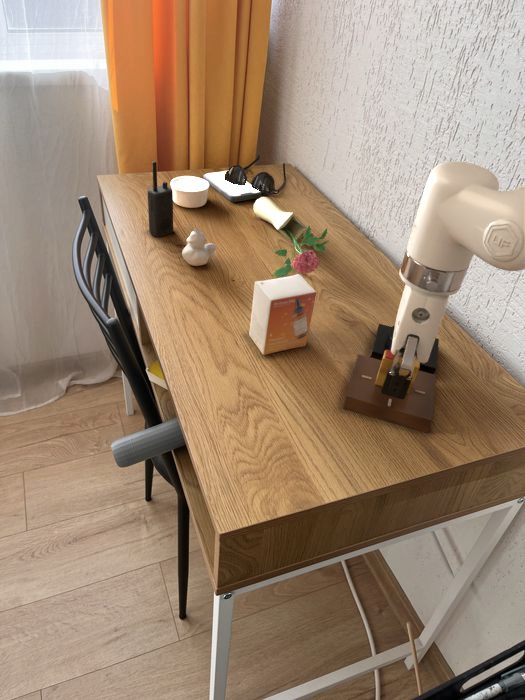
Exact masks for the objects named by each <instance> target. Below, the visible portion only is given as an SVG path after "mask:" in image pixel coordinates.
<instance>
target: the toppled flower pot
mask: <svg viewBox="0 0 525 700" xmlns="http://www.w3.org/2000/svg"><path fill="white" fill-rule="evenodd" d="M252 210H253V212H254V215H255V216H256V217H258V219H260V220H263V221H265V222H267V223H269V224H271V225H273V227H274V228H275V229H276V230H277V231H278V232H279V233H280V234H281V235H282V236H283V237H284V238H285V239H286V240H287V241H288V242H289V243H290V244H291V245H292V248H294V249H292V250H291V251H288V250H287V248H281V249H278V250H275V251H274V254H275V255H277V256H279V257H287V254H288V253H289V252H291V256H290V257H288V258H286V259H285V261H284V264H285V266H282V267H280V268H278V269H276V270H275V272H273V274H272V276H273V277H286V276H287V275H289V274H290V272H291V271H292V270H293V269H294V270H296V273H298V274H302V275H303V274H305V275H306V274H310V273H312V272H314V271H315V270H317V268H318V266H319V264H320V257H318V256H317V254H316V252H314V251H317V252H320V253H322V252H327V248H326V247H325V245H326V244H327V243H328V242H329V240H326V241H323V242H318V241H319V240H324V239H325V238H326V237H327V234H328V227H326V228H325V229H324V231H323V232H322V233H321V234H320V236H318V237H317V236H314V234H313V233H311V226H310V225H306V224H305V223H304V222H303V221H302V220H301V219H300V217H298V216H297V215H296V214H295V213H294V212H291V211H290V212H289V211H287V212H286V211H284V210H282V208H280V206H278V205H277V204H276V203H275V202H274V201H273V200H272V199H271V198H269V197H268V196H261V197H260V198H256V200H255V202H254V203H253V209H252ZM303 233H304V234H303ZM302 234H303V235H302ZM302 237H303V238H302ZM298 239H299V240H300V241H301V242H300V243H299V242H298ZM303 245H307V246H308V247H311V246H313V249H312V250H311V249H308V248H304V247H303ZM297 247H298V248H297ZM301 247H302V248H303V249H302V248H301ZM298 249H299V250H298ZM295 252H297V253H298V256H295V255H294V254H295ZM293 257H294V261H292V258H293ZM291 261H292V262H291ZM291 264H292V265H291Z"/></svg>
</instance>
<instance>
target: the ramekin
mask: <svg viewBox="0 0 525 700" xmlns="http://www.w3.org/2000/svg"><path fill="white" fill-rule="evenodd" d="M170 188H171V189H172V190H173V203H174V204H175V205H177V206H180V207H182V208H187V209H194V208H195V209H197V208H200V207H203V206H205V205H206V203H207V201H208V196H209V189H210V184H209V183H208V182H207V181H206V180H204V179H203V178H201V177H198V176H192V175H182V176H177V177H174V178H173V179H171V181H170Z"/></svg>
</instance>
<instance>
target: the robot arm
mask: <svg viewBox="0 0 525 700" xmlns="http://www.w3.org/2000/svg"><path fill="white" fill-rule="evenodd" d="M498 179H499V178H498V177H497V176H496V175H495V174H494V173H493V172H492V171H491V170H489V169H487V168H485V167H483V166H481V165H477V164H475V163H471V162H466V161H456V160H455V161H454V160H453V161H450V160H449V161H444V162H441V163H439V164H437V165H436V166H435V167H433V168H432V169H431V171H430V173H429V174H428V177H427V180H426V183H425V186H424V190H423V192H422V196H421V199H420V202H419V205H418V206H419V207H418V209H417V213H416V215H415V218H414V223H413V225H412V229H411V232H410V235H409V238H408V242H407V245H406V249H405V252H404V255H403V258H402V262H401V265H400V268H399V271H398V272H399V273H398V274H399V277H400V279H401V281H402V282H403V283H404V284H405V285H404V288H403V292H402V295H401V298H400V302H399V306H398V309H397V313H396V317H395V323H394V325H395V328H394V334H393V341H392V345H391V348H390V351H391V352H392V354H393V355H394V359H393V363H392V366H391V370H390V369H388V372H387V375H386V378H385V381H384V384H383V387H382V391H381V393H382V394H385V395H388V396H392V397H395V398H399V399H404V398H405V396H406V394H407V391H408V388H409V386H410V383H411V380H412V377H413V376H412V374H413V371H414V367H415V364H416V360H417V358H418V362H422V363H426V362H427V361H428V359H429V356H430V353H431V350H432V347H433V344H434V342H435V339H436V338H437V335H438V332H439V329H440V327H441V324H442V321H443V318H444V315H445V311H446V308H447V305H448V301H449V298H450V296H452V295H455V294H457V293H459V291H460V290H461V287H462V284H463V282H464V280H465V277H466V275H467V272H468V269H469V267H470V265H471V263H472V260H473V257H474V255H475V256H476V257H477V258H478V259H480V260H482V261H483V262H484V263H486V264H488V265H490V266H492V267H494V268H496V269H498V270H501V271H506V272H518V271H519V272H520V271H523V270H525V183H522V184H521V185H519V186H517V187H516V188H514V189H510V190H499V189H500V184H499V180H498ZM399 357H402V361H401V364H400V366H397V362H398V359H399ZM396 366H397V367H396Z"/></svg>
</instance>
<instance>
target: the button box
mask: <svg viewBox="0 0 525 700" xmlns="http://www.w3.org/2000/svg"><path fill="white" fill-rule="evenodd" d="M394 328H395V324H394V325H392V326H390V325H386V324H383V323H379V324H378V326H377V330H376V333H375V337H374V341H373V345H372V349H371V352H370V356H369V357H371V358H374V359H378V360H382V358H383V355H384V352H385V350H390V348H391V345H392V341H393V334H394ZM439 343H440V339H439V338H437V337H436V339H435V342H434V344H433V347H432V350H431V353H430V356H429V359H428V361H427V362H426V363H422V362H420V367H419V371H423V372H426V373H430V374H434V375H435V373H436V370H437V366H438V356H439ZM417 359H418V358H417Z"/></svg>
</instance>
